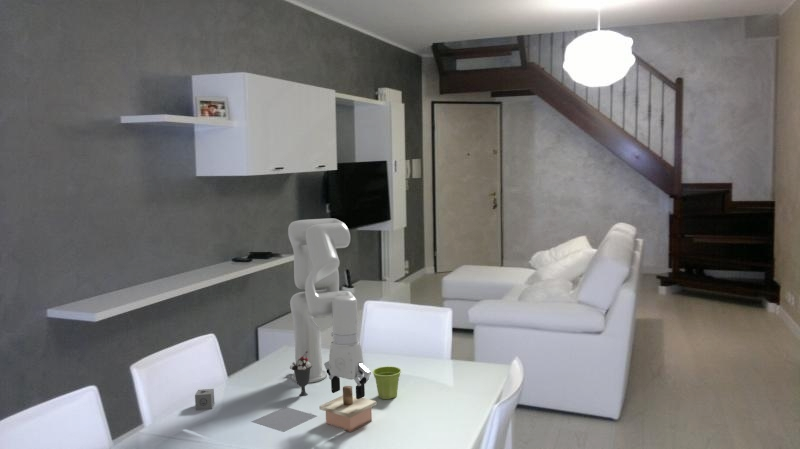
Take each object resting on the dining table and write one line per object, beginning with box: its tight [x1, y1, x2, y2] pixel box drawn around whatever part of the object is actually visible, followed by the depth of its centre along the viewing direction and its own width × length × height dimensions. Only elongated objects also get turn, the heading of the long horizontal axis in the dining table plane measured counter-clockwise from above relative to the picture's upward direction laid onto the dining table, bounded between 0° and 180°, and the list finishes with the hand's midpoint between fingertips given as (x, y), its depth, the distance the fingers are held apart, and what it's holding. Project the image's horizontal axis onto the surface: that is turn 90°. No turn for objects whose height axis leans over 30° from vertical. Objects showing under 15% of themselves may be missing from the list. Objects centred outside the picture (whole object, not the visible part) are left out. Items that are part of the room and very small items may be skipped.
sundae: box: [291, 352, 312, 397], centre depth 218 cm, size 7×7×15 cm
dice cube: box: [194, 388, 215, 411], centre depth 212 cm, size 5×5×5 cm
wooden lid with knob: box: [318, 385, 377, 418], centre depth 194 cm, size 12×12×6 cm
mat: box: [251, 406, 318, 433], centre depth 198 cm, size 14×14×1 cm
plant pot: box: [372, 365, 402, 400], centre depth 216 cm, size 9×9×9 cm
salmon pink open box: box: [325, 407, 373, 433], centre depth 194 cm, size 10×10×5 cm
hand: (348, 394), depth 194 cm, fingers open, 9 cm apart
